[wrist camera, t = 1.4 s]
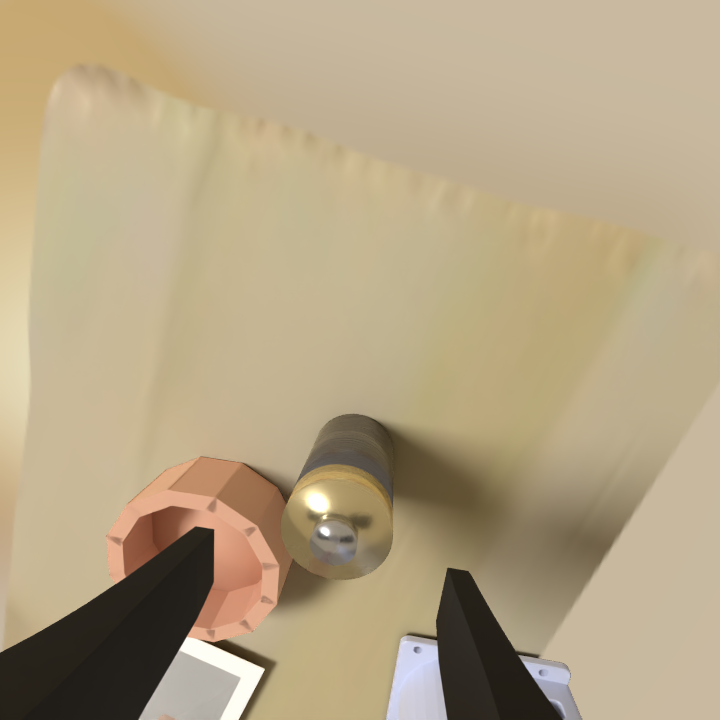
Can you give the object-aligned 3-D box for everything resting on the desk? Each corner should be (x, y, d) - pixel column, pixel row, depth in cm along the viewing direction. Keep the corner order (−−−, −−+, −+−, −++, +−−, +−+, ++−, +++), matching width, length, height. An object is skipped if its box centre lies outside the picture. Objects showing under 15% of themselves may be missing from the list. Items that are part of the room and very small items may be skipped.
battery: (398, 420, 18) (400, 503, 11) (387, 490, 19) (384, 602, 12) (319, 408, 18) (278, 484, 12) (312, 478, 19) (272, 583, 13)
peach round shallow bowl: (300, 471, 19) (283, 508, 16) (290, 601, 21) (273, 653, 18) (144, 447, 20) (101, 478, 17) (150, 576, 22) (112, 623, 19)
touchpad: (270, 650, 23) (258, 689, 21) (201, 784, 27) (184, 827, 25) (158, 600, 23) (134, 634, 21) (104, 741, 27) (80, 781, 25)
